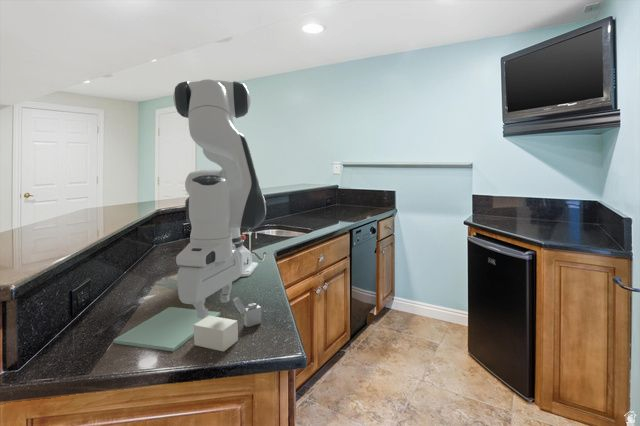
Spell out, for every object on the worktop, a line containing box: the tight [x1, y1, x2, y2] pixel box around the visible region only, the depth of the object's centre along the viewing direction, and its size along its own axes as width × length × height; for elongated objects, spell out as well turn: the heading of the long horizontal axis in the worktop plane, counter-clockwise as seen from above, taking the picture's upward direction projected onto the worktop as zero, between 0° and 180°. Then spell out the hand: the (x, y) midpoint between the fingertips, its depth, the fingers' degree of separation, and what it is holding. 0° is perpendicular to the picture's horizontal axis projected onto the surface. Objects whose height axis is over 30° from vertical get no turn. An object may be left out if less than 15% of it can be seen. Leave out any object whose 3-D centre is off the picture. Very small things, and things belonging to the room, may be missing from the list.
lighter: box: [232, 296, 262, 328], centre depth 92 cm, size 7×2×8 cm, turn 127°
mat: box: [113, 306, 221, 353], centre depth 91 cm, size 20×16×1 cm
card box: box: [193, 316, 239, 352], centre depth 83 cm, size 6×8×5 cm
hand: (214, 309), depth 82 cm, fingers open, 8 cm apart
